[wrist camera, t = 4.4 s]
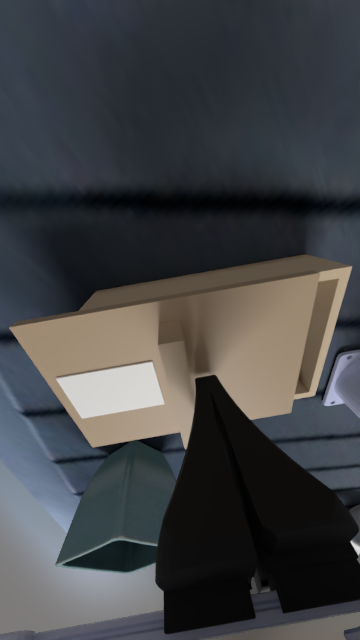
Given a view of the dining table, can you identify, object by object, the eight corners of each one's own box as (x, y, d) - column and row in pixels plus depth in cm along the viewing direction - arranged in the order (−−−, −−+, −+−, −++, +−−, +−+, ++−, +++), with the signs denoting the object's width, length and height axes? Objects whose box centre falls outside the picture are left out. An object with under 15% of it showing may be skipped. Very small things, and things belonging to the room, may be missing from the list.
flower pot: (138, 476, 28) (128, 576, 20) (86, 455, 25) (51, 568, 17) (182, 450, 26) (191, 552, 18) (132, 424, 22) (116, 537, 14)
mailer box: (305, 254, 14) (352, 266, 11) (287, 363, 20) (314, 395, 16) (96, 290, 14) (74, 314, 11) (135, 390, 20) (129, 428, 16)
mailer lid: (312, 270, 10) (354, 284, 8) (286, 406, 16) (307, 437, 14) (16, 321, 10) (-25, 351, 8) (94, 439, 16) (83, 477, 14)
